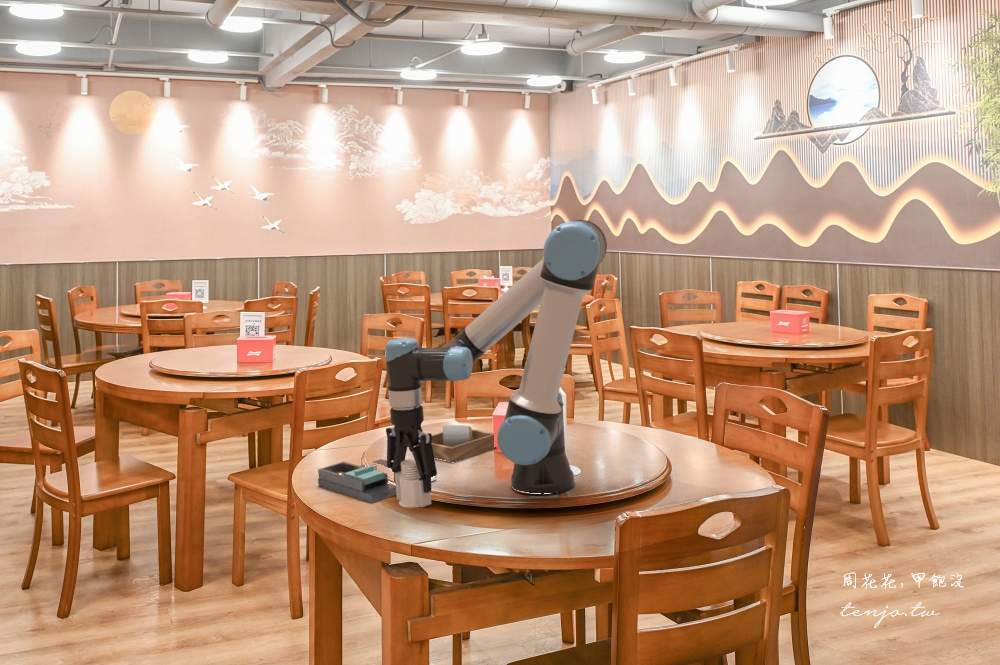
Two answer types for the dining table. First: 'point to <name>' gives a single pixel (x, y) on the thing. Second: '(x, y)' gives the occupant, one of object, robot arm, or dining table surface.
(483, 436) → the wooden caddy
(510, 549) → the dining table surface
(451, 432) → the ceramic mug
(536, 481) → the robot arm
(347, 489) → the housing board
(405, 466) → the downlight
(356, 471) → the cover
